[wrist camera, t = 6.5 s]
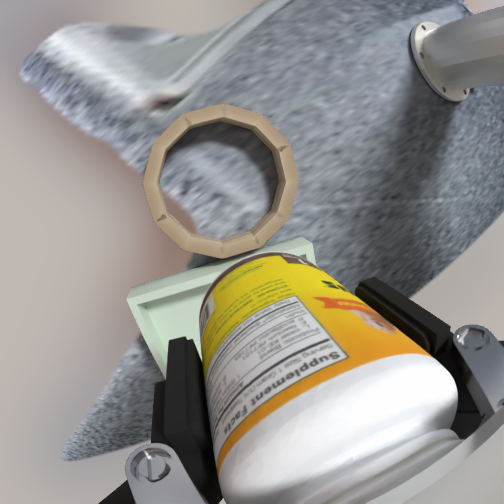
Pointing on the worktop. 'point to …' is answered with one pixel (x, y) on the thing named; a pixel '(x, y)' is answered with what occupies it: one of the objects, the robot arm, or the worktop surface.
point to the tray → (187, 300)
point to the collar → (265, 225)
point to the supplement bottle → (314, 389)
